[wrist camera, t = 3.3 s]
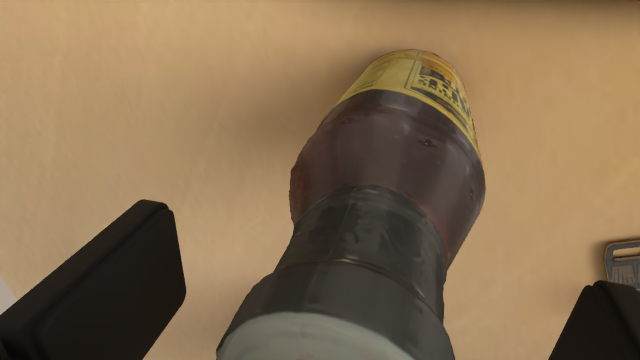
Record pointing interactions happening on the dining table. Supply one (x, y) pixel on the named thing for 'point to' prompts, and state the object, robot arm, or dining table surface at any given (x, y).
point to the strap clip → (623, 265)
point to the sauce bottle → (372, 224)
